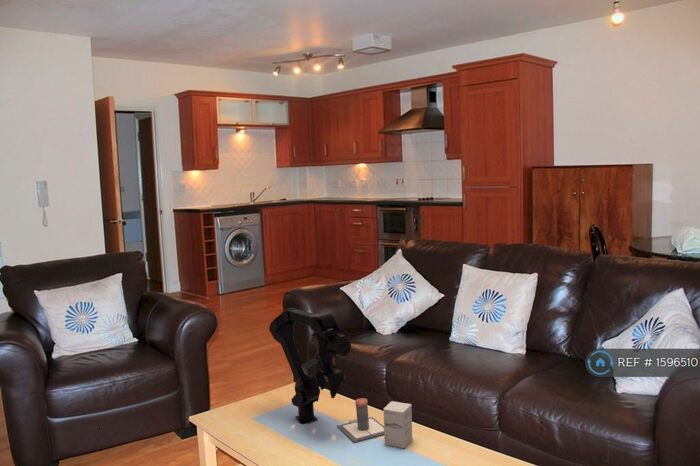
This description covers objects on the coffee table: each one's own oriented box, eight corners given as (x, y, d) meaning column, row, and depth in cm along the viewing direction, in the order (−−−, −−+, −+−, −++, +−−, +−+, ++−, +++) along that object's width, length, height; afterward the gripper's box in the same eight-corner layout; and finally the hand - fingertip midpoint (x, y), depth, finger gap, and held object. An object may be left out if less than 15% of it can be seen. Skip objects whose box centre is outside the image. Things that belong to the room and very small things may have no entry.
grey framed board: (337, 427, 210) (336, 423, 210) (372, 418, 216) (372, 414, 215) (354, 443, 197) (354, 439, 197) (391, 433, 203) (390, 429, 203)
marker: (355, 427, 207) (353, 400, 206) (366, 424, 209) (364, 397, 208) (360, 431, 204) (358, 404, 202) (371, 428, 205) (369, 401, 204)
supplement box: (383, 445, 195) (382, 408, 193) (393, 435, 201) (391, 400, 200) (404, 449, 191) (403, 412, 190) (413, 439, 198) (411, 403, 196)
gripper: (293, 347, 210) (296, 390, 212) (313, 362, 193) (316, 408, 195) (322, 342, 215) (325, 383, 217) (344, 356, 198) (347, 400, 200)
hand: (327, 393), depth 207 cm, fingers open, 9 cm apart
